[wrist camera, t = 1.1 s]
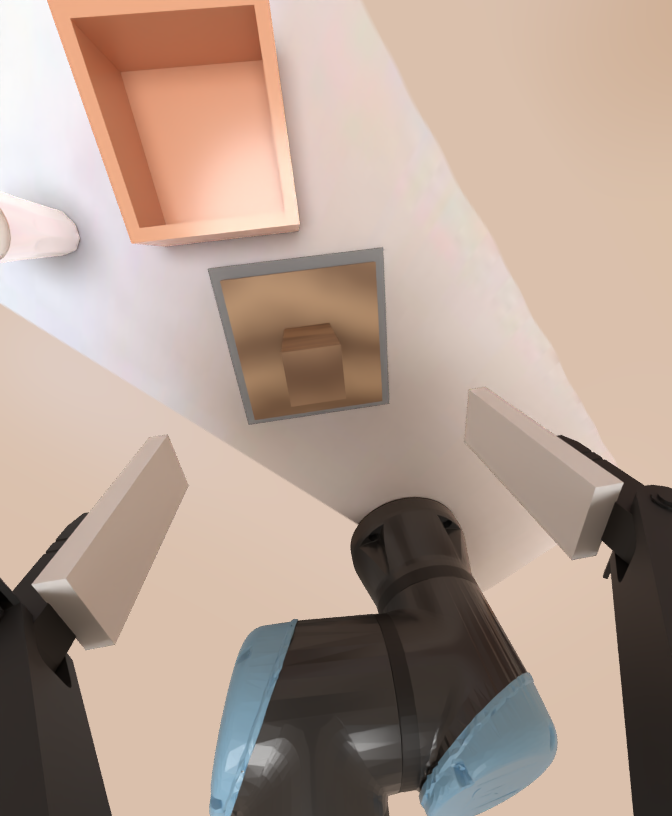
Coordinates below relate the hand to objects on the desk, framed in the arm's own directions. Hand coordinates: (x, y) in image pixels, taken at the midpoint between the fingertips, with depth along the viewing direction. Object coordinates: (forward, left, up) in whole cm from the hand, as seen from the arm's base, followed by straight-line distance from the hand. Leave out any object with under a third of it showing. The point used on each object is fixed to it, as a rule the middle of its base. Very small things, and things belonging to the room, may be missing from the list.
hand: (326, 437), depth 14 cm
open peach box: (+15, +5, -19) cm, 24 cm away
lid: (0, 0, -18) cm, 18 cm away
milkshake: (+11, +18, -19) cm, 28 cm away
